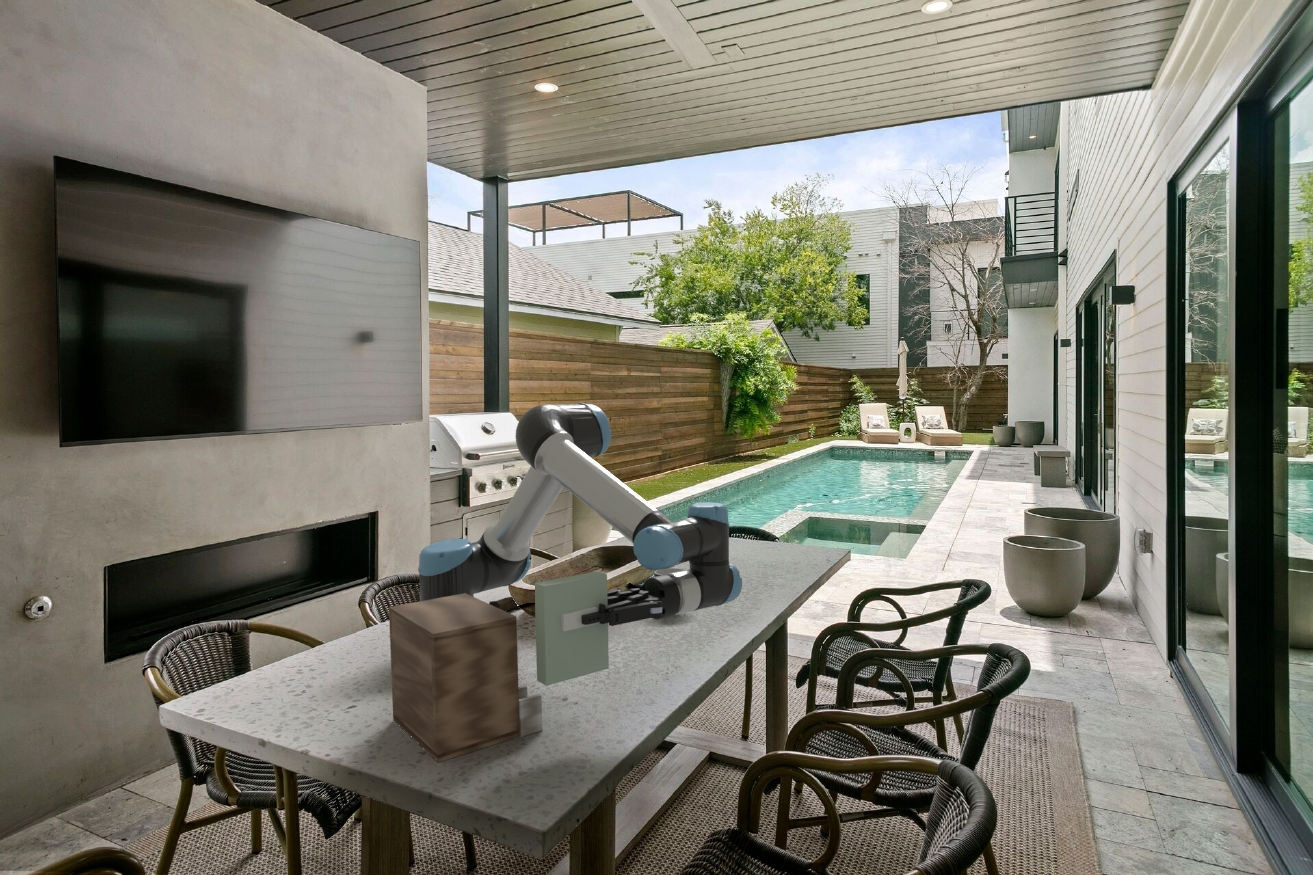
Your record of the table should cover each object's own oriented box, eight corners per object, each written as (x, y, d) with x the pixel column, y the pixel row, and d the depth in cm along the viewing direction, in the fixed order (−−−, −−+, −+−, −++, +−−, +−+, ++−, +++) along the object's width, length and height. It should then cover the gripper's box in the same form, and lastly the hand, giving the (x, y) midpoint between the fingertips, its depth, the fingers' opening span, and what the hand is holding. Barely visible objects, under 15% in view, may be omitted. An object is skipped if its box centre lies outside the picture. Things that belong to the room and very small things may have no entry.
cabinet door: (546, 685, 121) (543, 586, 120) (537, 680, 124) (534, 582, 123) (608, 668, 129) (606, 574, 128) (599, 663, 131) (597, 571, 130)
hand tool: (498, 617, 196) (497, 599, 195) (488, 615, 198) (487, 597, 198) (551, 601, 211) (551, 584, 210) (541, 599, 213) (541, 582, 213)
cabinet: (438, 763, 117) (434, 634, 116) (393, 720, 133) (388, 607, 132) (542, 730, 128) (539, 612, 127) (488, 694, 144) (485, 589, 143)
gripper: (698, 625, 132) (583, 655, 118) (643, 606, 145) (533, 631, 130) (698, 582, 132) (582, 607, 117) (642, 567, 144) (531, 587, 130)
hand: (556, 620), depth 124 cm, fingers closed on cabinet door, 3 cm apart
